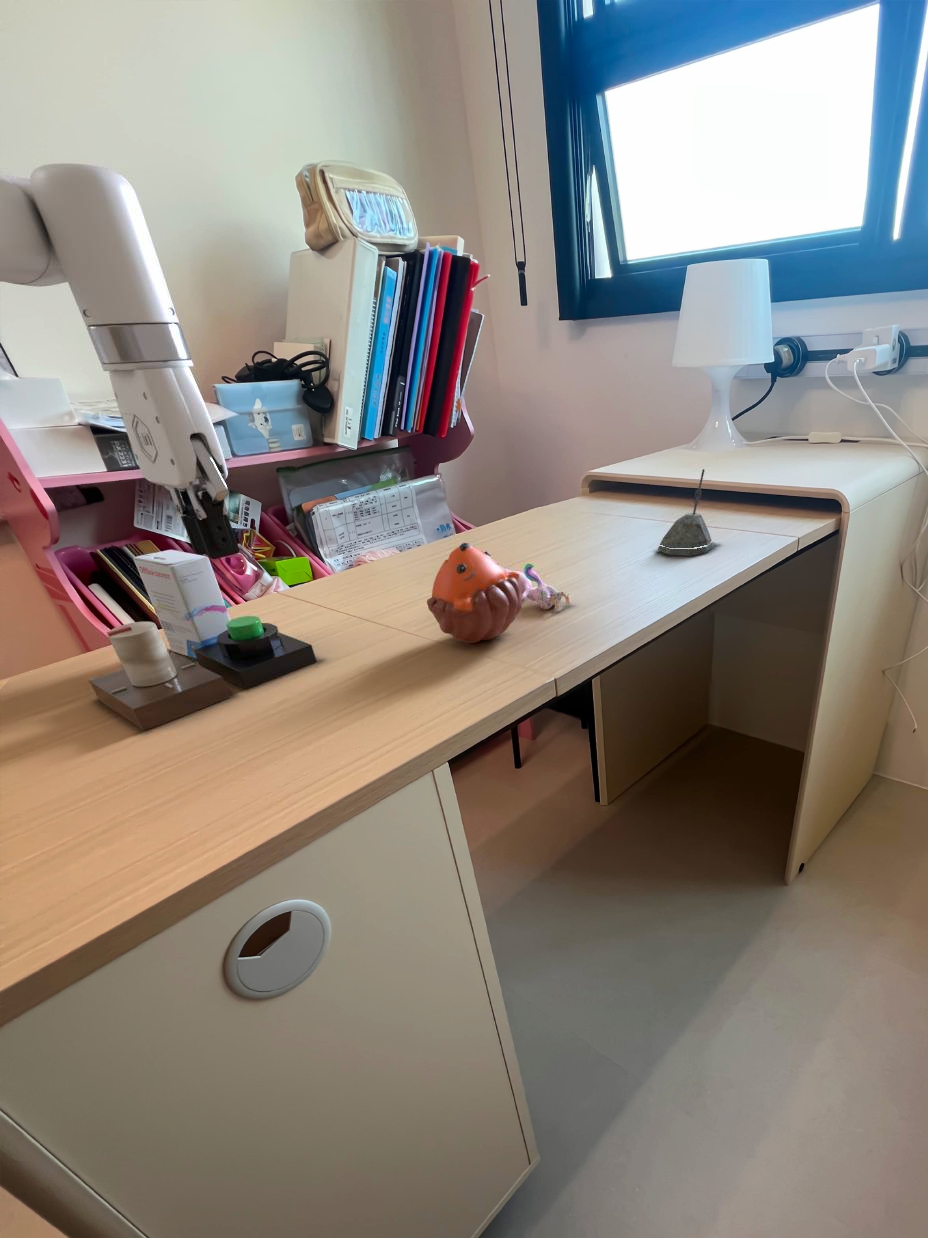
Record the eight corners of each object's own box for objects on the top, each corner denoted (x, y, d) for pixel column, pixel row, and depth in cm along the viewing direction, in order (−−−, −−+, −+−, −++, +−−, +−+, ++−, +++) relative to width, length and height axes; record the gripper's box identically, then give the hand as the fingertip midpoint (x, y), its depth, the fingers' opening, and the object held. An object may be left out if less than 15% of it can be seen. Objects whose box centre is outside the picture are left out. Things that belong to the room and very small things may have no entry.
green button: (225, 637, 76) (220, 622, 75) (254, 627, 78) (249, 613, 77) (241, 643, 74) (235, 628, 73) (270, 633, 76) (265, 619, 75)
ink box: (245, 649, 82) (209, 553, 76) (208, 663, 79) (167, 565, 72) (207, 638, 86) (169, 546, 80) (170, 651, 83) (128, 556, 76)
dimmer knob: (166, 666, 73) (143, 615, 69) (184, 675, 70) (161, 623, 67) (124, 680, 70) (98, 628, 66) (142, 690, 68) (116, 637, 64)
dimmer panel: (99, 700, 72) (87, 678, 70) (181, 671, 77) (172, 650, 76) (144, 731, 66) (132, 707, 64) (230, 697, 71) (221, 675, 70)
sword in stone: (687, 559, 107) (691, 480, 100) (651, 551, 112) (652, 475, 105) (724, 546, 113) (729, 470, 106) (688, 539, 117) (691, 466, 110)
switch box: (200, 666, 78) (187, 635, 76) (269, 642, 84) (259, 612, 82) (245, 689, 73) (232, 656, 70) (317, 661, 78) (307, 629, 76)
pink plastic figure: (575, 611, 93) (498, 579, 99) (579, 571, 89) (498, 539, 95) (548, 625, 89) (468, 590, 95) (550, 583, 85) (467, 550, 91)
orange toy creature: (477, 616, 89) (464, 529, 82) (541, 627, 85) (533, 535, 78) (419, 648, 81) (399, 553, 74) (487, 661, 76) (472, 562, 70)
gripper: (66, 354, 62) (151, 552, 73) (135, 349, 54) (219, 574, 64) (149, 350, 67) (216, 537, 77) (224, 345, 58) (288, 555, 69)
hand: (217, 552), depth 71 cm, fingers closed
